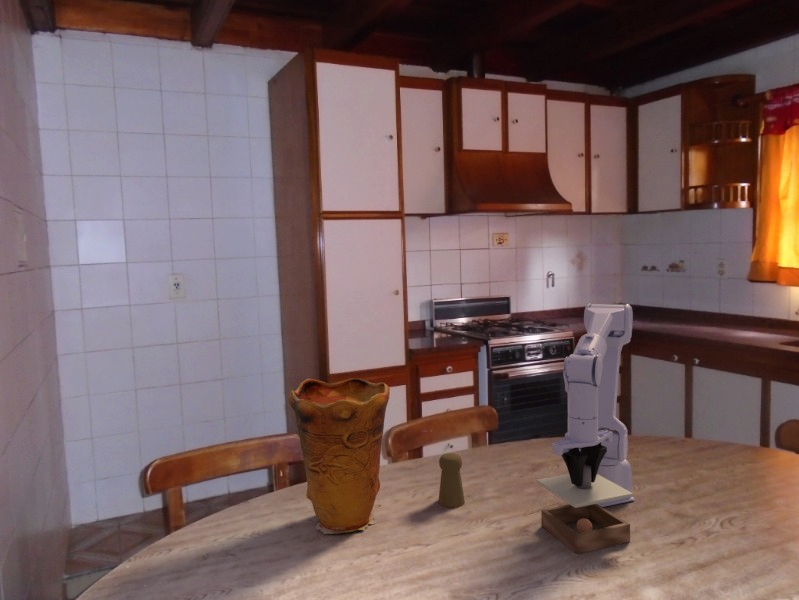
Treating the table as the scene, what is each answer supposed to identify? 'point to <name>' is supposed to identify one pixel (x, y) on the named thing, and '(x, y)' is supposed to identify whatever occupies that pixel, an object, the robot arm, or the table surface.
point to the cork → (451, 481)
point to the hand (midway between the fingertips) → (583, 482)
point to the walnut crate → (591, 540)
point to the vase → (341, 448)
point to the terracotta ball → (584, 525)
